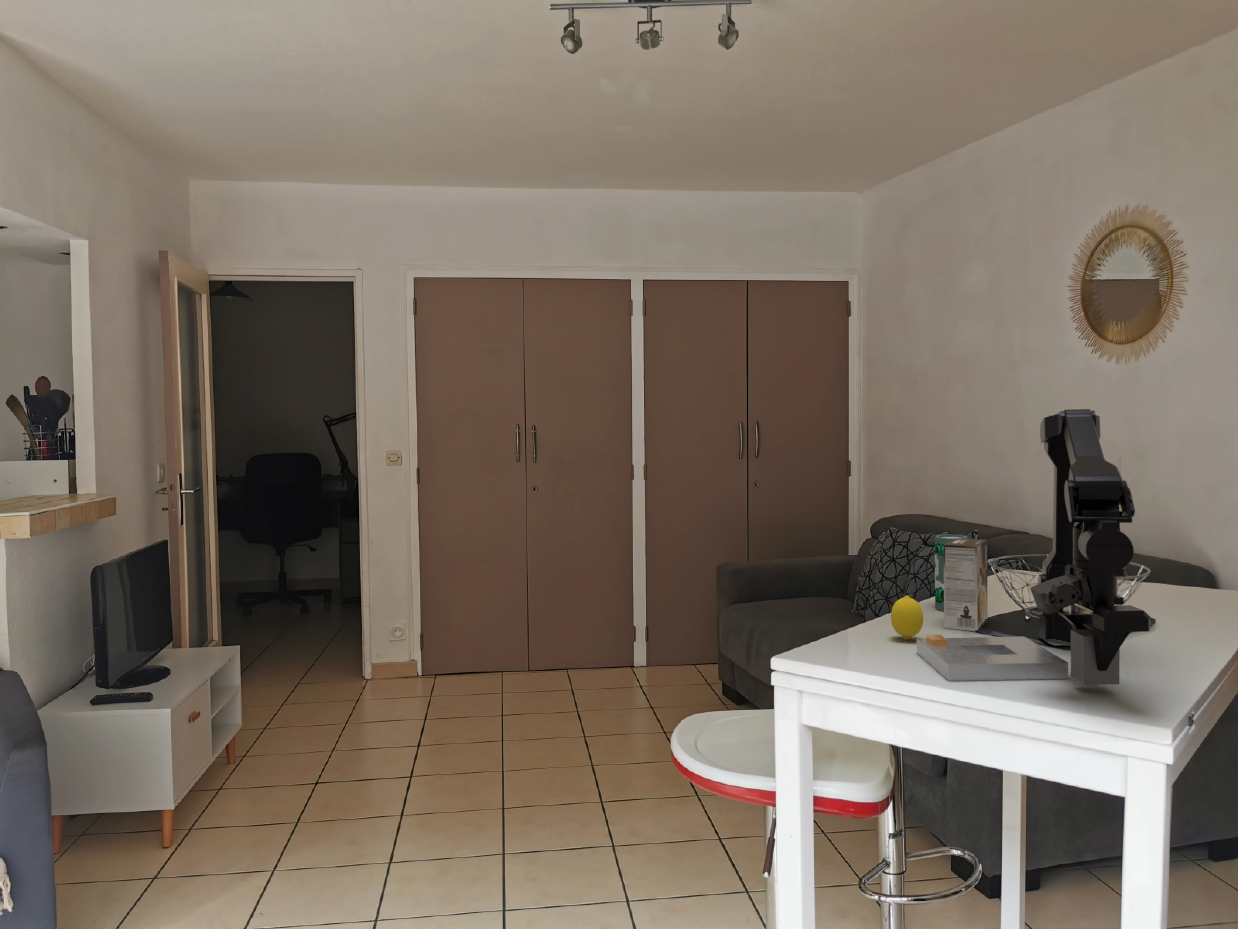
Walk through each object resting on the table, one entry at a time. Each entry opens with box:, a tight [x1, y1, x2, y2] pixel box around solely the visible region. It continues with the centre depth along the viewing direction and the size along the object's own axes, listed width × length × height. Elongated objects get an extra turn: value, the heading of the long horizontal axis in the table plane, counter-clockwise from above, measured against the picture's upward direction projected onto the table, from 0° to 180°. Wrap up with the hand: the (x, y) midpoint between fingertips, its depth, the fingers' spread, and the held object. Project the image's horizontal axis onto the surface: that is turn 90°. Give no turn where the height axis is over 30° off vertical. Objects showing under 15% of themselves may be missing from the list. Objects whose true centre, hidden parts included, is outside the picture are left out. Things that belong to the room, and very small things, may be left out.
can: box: [934, 534, 969, 613], centre depth 186 cm, size 6×6×15 cm
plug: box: [1070, 629, 1121, 686], centre depth 131 cm, size 5×4×7 cm
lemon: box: [890, 595, 924, 641], centre depth 163 cm, size 6×6×8 cm
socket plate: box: [916, 634, 1069, 682], centre depth 146 cm, size 18×16×3 cm
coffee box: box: [943, 538, 989, 632], centre depth 172 cm, size 9×6×16 cm
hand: (1094, 666), depth 132 cm, fingers closed on plug, 4 cm apart
